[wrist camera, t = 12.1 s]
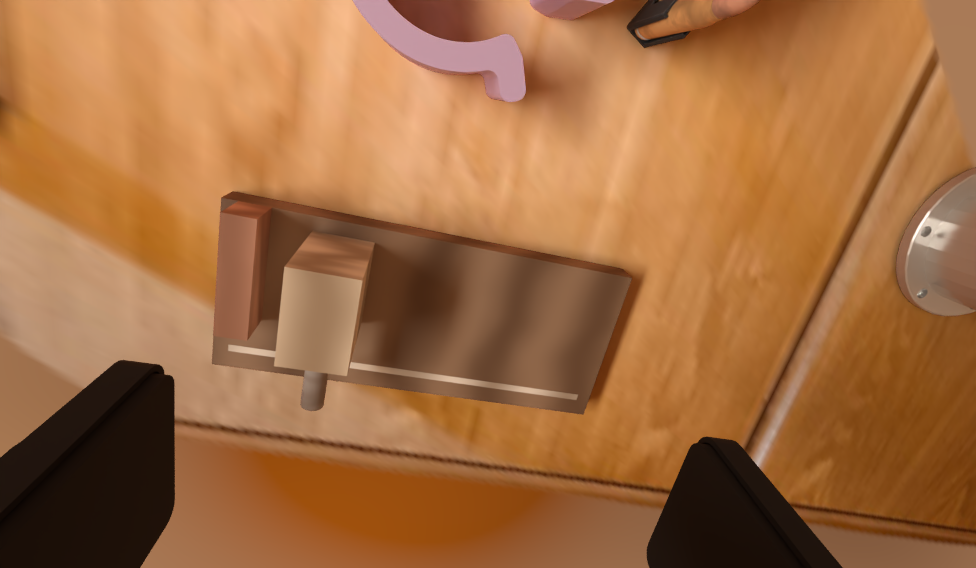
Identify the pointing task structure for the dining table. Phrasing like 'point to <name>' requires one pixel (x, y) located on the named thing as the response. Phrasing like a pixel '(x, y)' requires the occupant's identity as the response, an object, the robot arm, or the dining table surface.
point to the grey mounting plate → (425, 308)
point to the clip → (467, 45)
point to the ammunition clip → (680, 18)
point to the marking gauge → (322, 310)
